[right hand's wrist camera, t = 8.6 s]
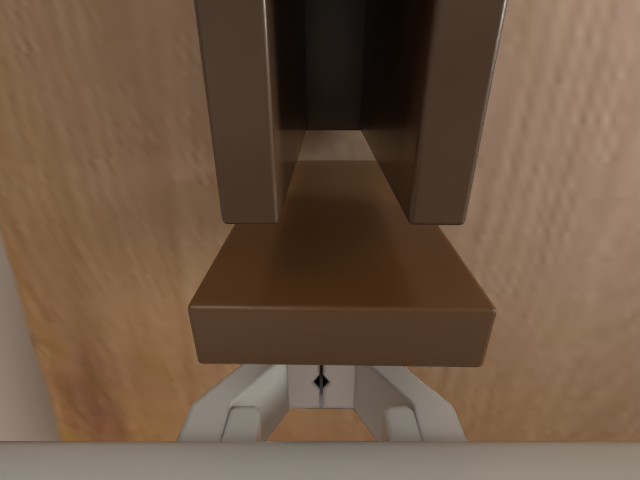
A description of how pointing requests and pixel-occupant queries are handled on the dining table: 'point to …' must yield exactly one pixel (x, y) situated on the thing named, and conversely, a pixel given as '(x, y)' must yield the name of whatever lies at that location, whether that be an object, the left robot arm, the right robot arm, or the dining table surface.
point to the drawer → (345, 181)
